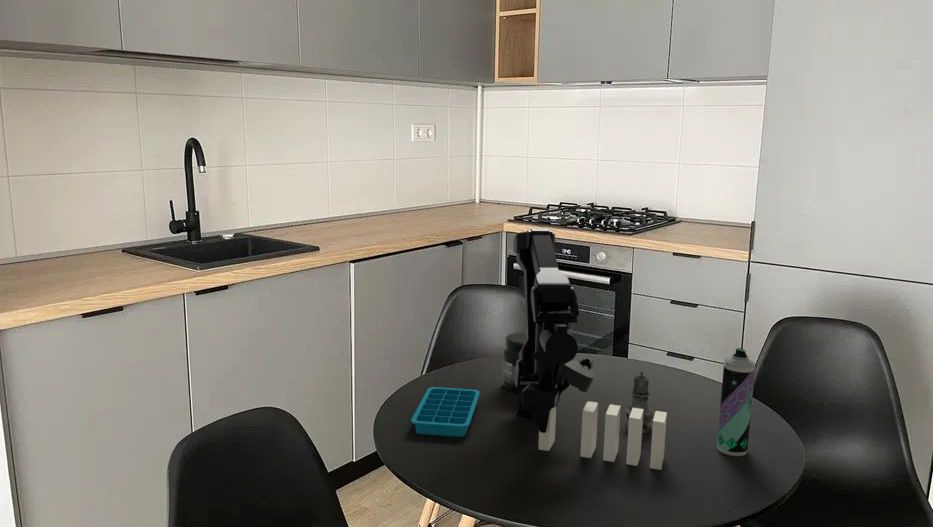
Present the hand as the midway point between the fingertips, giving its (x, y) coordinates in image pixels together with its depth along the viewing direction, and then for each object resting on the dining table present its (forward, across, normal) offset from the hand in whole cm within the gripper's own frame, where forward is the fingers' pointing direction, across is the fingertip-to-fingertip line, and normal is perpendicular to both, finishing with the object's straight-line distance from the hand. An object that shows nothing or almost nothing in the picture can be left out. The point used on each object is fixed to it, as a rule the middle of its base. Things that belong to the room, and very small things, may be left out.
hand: (547, 425), depth 138 cm
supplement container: (+4, +29, +12) cm, 32 cm away
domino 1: (+4, 0, 0) cm, 4 cm away
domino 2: (+4, 0, -8) cm, 9 cm away
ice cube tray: (+5, +5, +23) cm, 24 cm away
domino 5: (+4, 0, -21) cm, 21 cm away
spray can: (+4, +11, -34) cm, 35 cm away
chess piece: (+4, +15, -16) cm, 22 cm away
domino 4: (+4, 0, -16) cm, 17 cm away
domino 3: (+4, 0, -12) cm, 13 cm away
